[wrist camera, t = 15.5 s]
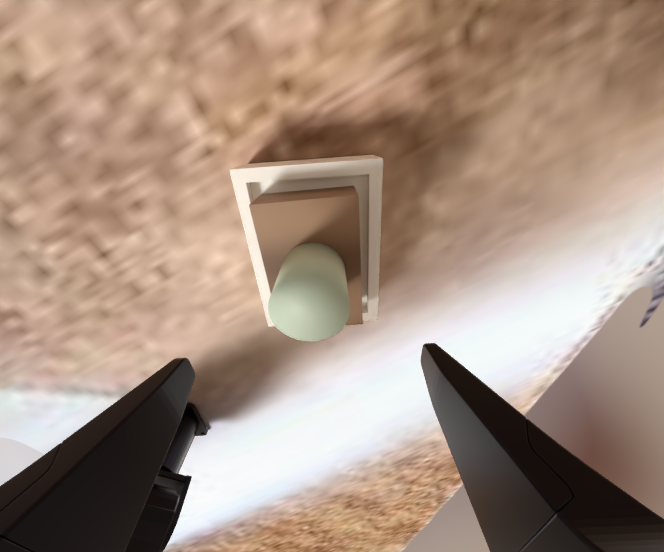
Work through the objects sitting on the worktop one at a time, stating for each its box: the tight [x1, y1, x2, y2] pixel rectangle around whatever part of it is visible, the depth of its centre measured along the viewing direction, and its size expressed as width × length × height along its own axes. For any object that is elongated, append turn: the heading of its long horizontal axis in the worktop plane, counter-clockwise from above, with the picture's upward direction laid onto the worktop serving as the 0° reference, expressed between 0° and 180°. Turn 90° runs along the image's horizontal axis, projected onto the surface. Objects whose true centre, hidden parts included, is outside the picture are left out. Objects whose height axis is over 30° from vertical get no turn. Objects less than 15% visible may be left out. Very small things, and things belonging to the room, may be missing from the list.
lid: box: [249, 186, 363, 325], centre depth 17 cm, size 9×6×3 cm, turn 5°
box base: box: [229, 155, 383, 327], centre depth 19 cm, size 12×9×4 cm
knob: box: [268, 243, 350, 341], centre depth 14 cm, size 4×4×4 cm
